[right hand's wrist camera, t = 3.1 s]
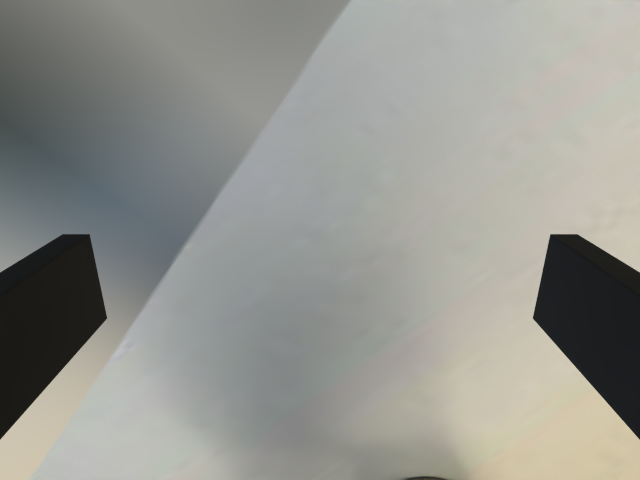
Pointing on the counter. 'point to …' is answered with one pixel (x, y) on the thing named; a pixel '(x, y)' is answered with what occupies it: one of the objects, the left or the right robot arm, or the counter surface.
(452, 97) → the counter surface
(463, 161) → the counter surface
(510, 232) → the counter surface
